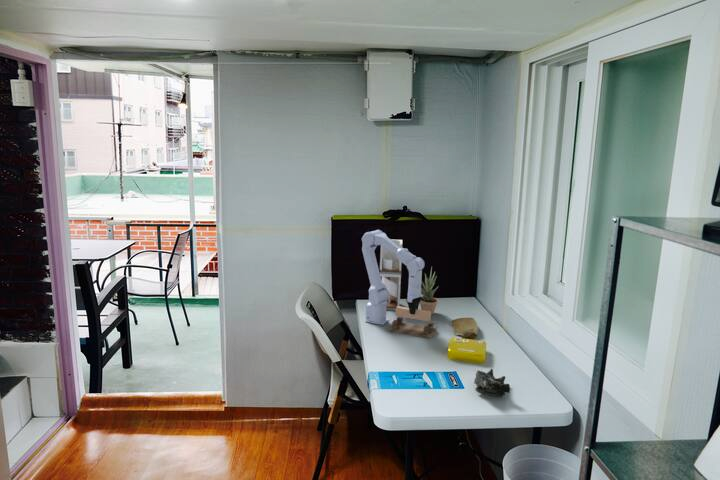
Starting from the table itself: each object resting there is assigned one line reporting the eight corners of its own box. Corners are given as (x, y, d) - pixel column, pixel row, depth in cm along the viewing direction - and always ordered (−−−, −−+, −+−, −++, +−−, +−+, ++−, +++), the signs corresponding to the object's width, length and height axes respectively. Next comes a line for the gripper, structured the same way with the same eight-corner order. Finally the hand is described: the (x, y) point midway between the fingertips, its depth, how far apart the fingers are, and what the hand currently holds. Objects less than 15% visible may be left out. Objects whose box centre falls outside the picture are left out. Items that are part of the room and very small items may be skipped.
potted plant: (438, 316, 249) (441, 268, 244) (419, 316, 249) (422, 268, 244) (435, 309, 258) (438, 263, 254) (417, 309, 258) (419, 263, 254)
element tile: (446, 360, 200) (447, 349, 199) (450, 345, 214) (450, 335, 213) (484, 365, 196) (485, 354, 195) (485, 350, 210) (486, 339, 209)
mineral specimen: (521, 388, 167) (505, 361, 168) (490, 408, 166) (474, 381, 167) (506, 381, 182) (492, 357, 183) (477, 400, 180) (463, 376, 181)
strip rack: (388, 330, 228) (388, 321, 228) (395, 323, 237) (396, 315, 237) (430, 338, 221) (431, 329, 220) (436, 330, 230) (437, 322, 229)
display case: (379, 302, 268) (382, 238, 261) (399, 303, 267) (402, 239, 260) (378, 309, 257) (380, 243, 250) (399, 310, 256) (402, 244, 249)
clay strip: (395, 315, 230) (395, 307, 229) (397, 314, 232) (397, 306, 231) (429, 321, 224) (429, 313, 223) (430, 319, 226) (431, 311, 225)
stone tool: (483, 341, 218) (473, 321, 242) (482, 332, 217) (473, 313, 242) (456, 343, 219) (449, 323, 243) (455, 334, 218) (449, 315, 242)
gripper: (418, 289, 217) (417, 319, 219) (427, 281, 230) (426, 309, 232) (403, 287, 219) (401, 316, 222) (413, 279, 232) (411, 307, 235)
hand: (413, 313), depth 227 cm, fingers closed on clay strip, 2 cm apart
